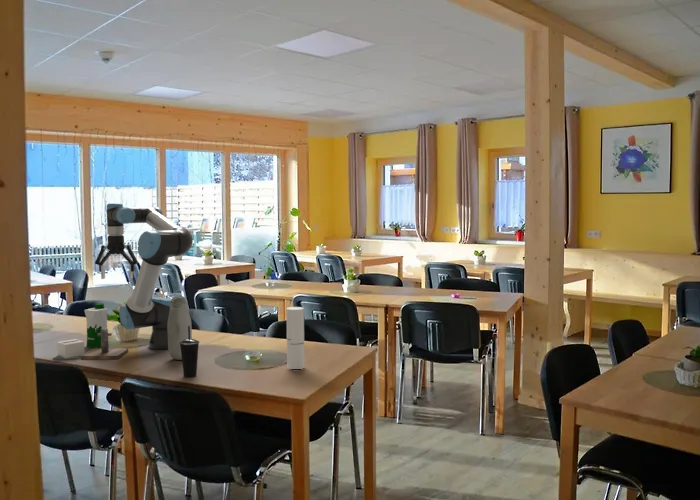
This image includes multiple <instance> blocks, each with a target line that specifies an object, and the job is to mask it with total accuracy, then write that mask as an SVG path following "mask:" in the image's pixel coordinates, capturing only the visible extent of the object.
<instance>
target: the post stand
mask: <svg viewBox="0 0 700 500" xmlns="http://www.w3.org/2000/svg"><path fill="white" fill-rule="evenodd" d="M112 335H113V333H112V332H110V333H109V328H108V327H107V328H104V329H101V333H98V334H97V336H101V347H100V348H91V350H89V351H86V352H87V353H85V354H83V355H82V356H81V358H80V360H119V358H121V357H123V356H124V355H125V354H127V353H128V352H129V348H126V347H124V348H123V347H122V348H109V347H110V346H109V345H108V344H109V337H111V336H112Z"/></svg>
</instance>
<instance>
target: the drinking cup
mask: <svg viewBox="0 0 700 500" xmlns="http://www.w3.org/2000/svg"><path fill="white" fill-rule="evenodd" d="M179 344H180V347H181V356H182V360H181V364H182V371H183V377H184V378H187V379H188V378H190V377H191V378H195V377H197V373H198V372H197V371H198V358H199V344H200V341H199V340H198V339H195V338H192V339H190V326H188V339H185V340H183V341H181V342H180V343H179Z"/></svg>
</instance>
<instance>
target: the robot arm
mask: <svg viewBox="0 0 700 500" xmlns="http://www.w3.org/2000/svg"><path fill="white" fill-rule="evenodd" d="M126 224H127V225H128V224H147V225H149V226H150V227H151V228H153V229H152V230H146V231H144V232H142V233H141V235H140V236H139V238H138V241H137V253H138V255H139V256H140V258H141V260H142V262H141V264H140V268H139V272H138V275H137V278H136V282H135V286H134V289H133V293H132V296H129V297H128V298H127V299H126V304H121V305H120V306H119V309H118V312H119V320H120V323H121V325H122V326H123V328H124V329H126V330H136V329H142V328H149V327H152V328H151V329H152V330H151V335H150V337H149V341H148V348H149V349H152V350H153V349H154V350H168V330H167V324H168V317H169V312H170V302H171V300H172V298H168V297H153V296H154V294H155V289H156V287H157V283H158V282H159V281H158V280H159V277H160V274H161V272H162V271H161V270H162V268H163V266H165V265H166V264H167V262H169V258H170V257H180V256H184V255H185V254H187V253H188V252H189V251H190V249H191V248H192V247H193V242H194V240H193V239H194V238H193V236H192V233H191V232H190V231H189V230H188V229H187V228H186V227H184V226H178V225H177V224H176V223H175V222H173V221H171V220H170V219H168V217H166V216H165V215H163V211H162V209H161V208H160V207H157V206H144V207H134V206H133V207H132V206H131V207H128V206H124V205H123V203H121V202H120V203H119V202H118V203H110V202H109V203H107V204H106V230H107V231H106V233H107V245H105V244H102V245H100V250H99V253H98V255H97V257H96V259H95V261H94V265H98V269H99V270H98V271H99V273H100V275H101V276H100V278H101V280H104V279H106V269H105V268H106V267H105V264H104V263H105V262H106V261H107V260H108V259H109V257H110V256H111V255H121V256H122V257H123V258H124V259H125V260H126V261H127V262H128V264H129V265H128V277H129V279H134V277H133V274H134V272H135V265H136V264H138V263H139V261H138V259H137V257H136V255H135V253H134V252H133V249H132V245H131V244H126V245H125V236H124V234H125V230H124V225H126ZM106 250H108V251H107V252H106V254H105V255H104V253H105V251H106ZM125 250H127V253H126V251H125ZM128 254H129V255H128Z"/></svg>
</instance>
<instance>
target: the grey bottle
mask: <svg viewBox="0 0 700 500" xmlns="http://www.w3.org/2000/svg"><path fill="white" fill-rule="evenodd" d="M171 299H172V300H171V302H170V312H169V317H168V324H167V330H168V349H167V350H168V353H169V355H170V357H171V358H173V359H174V360H177V361H180V360H181V361H182V356H181V347H180V344H179V343H180V342H181V341H183V340H185V339H188V326H190V339H193V338H192V335H193V334H192V332H193V331H192V318H191V315H190V311H189V303H188V300H187V298H186V297H185V296H182V295H176V296H174V297H172V298H171Z"/></svg>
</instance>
